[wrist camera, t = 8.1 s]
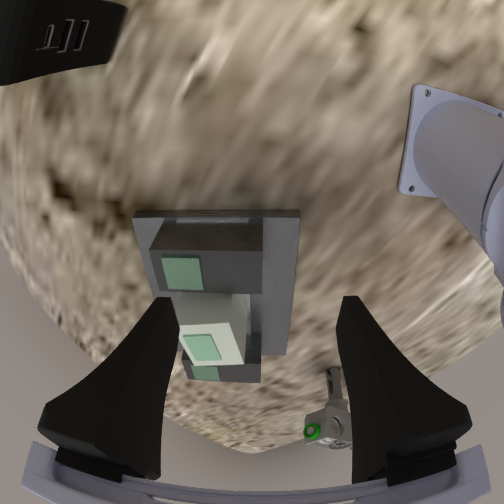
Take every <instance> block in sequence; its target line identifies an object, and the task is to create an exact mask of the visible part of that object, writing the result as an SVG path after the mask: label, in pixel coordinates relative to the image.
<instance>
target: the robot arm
mask: <svg viewBox="0 0 504 504" xmlns="http://www.w3.org/2000/svg"><path fill="white" fill-rule="evenodd" d="M425 90H428V95H427V96H425V93H424V92H425ZM498 113H499V117H498ZM410 186H413V187H412V189H411V190H409V187H410ZM398 190H399V191H400V192H401V193H402V194H404V195H415V196H425V197H435V198H439V199H440V200H441V201H442V202H443V203H444V204H445V206H446V207H447V208H448V209H449V210H450V211H451V212H452V213H453V214H454V215H455V217H456V218H457V219H458V220H459V221H460V222H461V223H462V225H463V226H464V227H465V228H466V229H467V230H468V232H469V233H470V234H471V235H472V236H473V238H474V239H475V240H476V241H477V243H478V244H479V245H480V246H481V248H482V249H483V250H484V251H485V253H486V254H487V255H488V257H489V258H490V259H491V261H492V262H493V263H494V274H495V275H496V277H497V278H498V279H499V281H500V282H501V284H502V285H503V287H504V111H503V110H500V109H498V108H495V107H492V106H490V105H487V104H484V103H482V102H479V101H476V100H473V99H470V98H467V97H464V96H461V95H458V94H455V93H451V92H448V91H445V90H441V89H438V88H434V87H430V86H426V85H422V84H416V85H415V86H414V87H413V91H412V100H411V109H410V117H409V125H408V132H407V138H406V145H405V151H404V157H403V162H402V168H401V173H400V178H399V183H398ZM500 313H501V320H502V324H503V327H504V290H503V294H502V298H501V305H500ZM179 333H180V327H179V323H178V320H177V317H176V313H175V310H174V307H173V303H172V300H171V297H157V298H156V299H155V300H154V301H153V303H152V304H151V305H150V307H149V308H148V309H147V311H146V312H145V313H144V315H143V316H142V317H141V319H140V320H139V321H138V322H137V324H136V325H135V326H134V327H133V329H132V330H131V331H130V333H129V334H128V335H127V336H126V337H125V338H124V340H123V341H122V342H121V343H120V344H119V345H118V347H117V348H116V349H115V350H114V351H113V352H112V353H111V354H110V355H109V356H108V357H107V358H106V359H105V360H104V361H103V362H102V363H101V364H100V365H99V366H98V367H97V368H96V369H94V370H93V371H92V372H91V373H90V374H89V375H88V376H86V377H85V378H84V379H83V380H81V381H80V382H79V383H77V384H76V385H75V386H73V387H72V388H70V389H69V390H68V391H66V392H64V393H63V394H61V395H60V396H58V397H56V398H55V399H53V400H51V401H50V402H48V403H46V405H45V407H44V409H43V412H42V415H41V418H40V421H39V424H38V427H37V428H38V431H39V432H40V433H41V434H42V435H44V436H45V437H46V438H48V439H49V440H51V441H52V442H53V443H55V444H56V445H58V446H59V448H58V451H56V450H54V449H52V448H49V447H47V446H44V445H42V444H39V443H38V442H35V441H33V442H32V445H31V448H30V451H29V455H28V458H27V462H26V465H25V469H24V473H23V477H22V481H21V486H22V487H24V488H25V489H27V490H29V491H31V492H33V493H35V494H37V495H38V496H40V497H42V498H44V499H46V500H48V501H50V502H52V503H54V504H171V503H167V502H162V501H158V500H155V499H154V498H153V497H158V498H163V499H168V500H174V501H181V502H188V503H196V504H328V503H335V502H341V501H348V500H355V499H356V500H355V501H354V502H352V503H347V504H468V503H470V502H472V501H474V500H476V499H477V498H480V497H482V496H484V495H486V494H487V493H489V492H490V491H491V485H490V480H489V475H488V470H487V466H486V461H485V457H484V453H483V449H482V446H481V445H477V446H475V447H472V448H470V449H467V450H465V451H462V452H460V453H458V454H456V455H455V453H454V449H456V447H457V445H456V442H455V441H456V440H457V439H458V438H460V437H461V436H462V435H463V434H465V433H466V432H467V431H468V430H470V428H471V427H472V421H471V418H470V414H469V411H468V409H467V406H466V405H464V404H463V403H461V402H460V401H458V400H456V399H455V398H453V397H452V396H450V395H449V394H447V393H446V392H444V391H443V390H442V389H440V388H439V387H437V386H436V385H435V384H434V383H433V382H431V381H430V380H429V379H428V378H427V377H426V376H424V375H423V374H422V373H421V372H420V371H419V370H418V369H417V368H416V367H415V366H413V365H412V363H411V362H410V361H409V360H408V359H407V358H406V357H405V356H404V355H403V354H402V353H401V352H400V351H399V350H398V348H397V347H396V346H395V345H394V344H393V342H392V341H391V340H390V339H389V338H388V336H387V335H386V334H385V332H384V331H383V330H382V329H381V327H380V326H379V325H378V323H377V322H376V321H375V319H374V318H373V316H372V315H371V314H370V312H369V311H368V309H367V308H366V307H365V305H364V304H363V302H362V301H361V299H360V298H359V297H358V296H344V297H343V301H342V305H341V309H340V313H339V317H338V321H337V325H336V335H337V344H338V351H339V355H340V359H341V364H342V368H343V372H344V377H345V381H346V385H347V390H348V395H349V401H350V412H351V425H352V451H353V452H352V453H353V454H352V484H351V485H345V486H337V487H329V488H319V489H309V490H295V491H263V492H262V491H229V490H215V489H204V488H194V487H186V486H179V485H172V484H166V483H161V482H155V481H150V480H156V479H158V478H159V477H160V476H161V469H160V468H161V434H162V422H163V413H164V404H165V398H166V392H167V388H168V384H169V380H170V376H171V372H172V368H173V365H174V361H175V357H176V353H177V348H178V341H179ZM137 477H138V478H137ZM140 478H142V479H140ZM145 479H148V480H145Z"/></svg>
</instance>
